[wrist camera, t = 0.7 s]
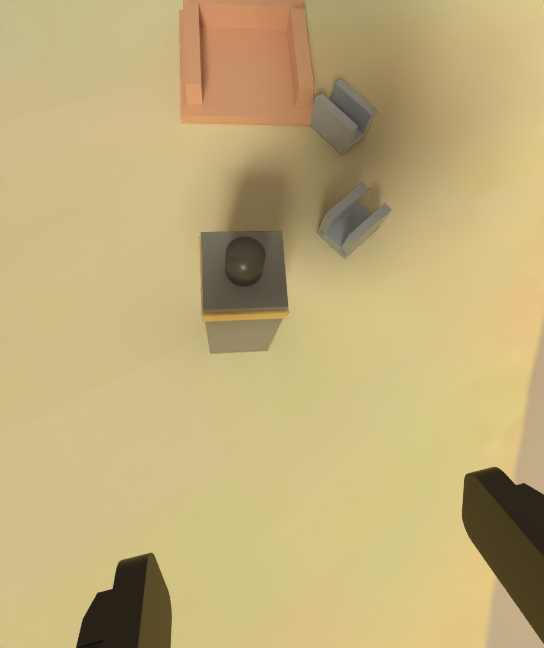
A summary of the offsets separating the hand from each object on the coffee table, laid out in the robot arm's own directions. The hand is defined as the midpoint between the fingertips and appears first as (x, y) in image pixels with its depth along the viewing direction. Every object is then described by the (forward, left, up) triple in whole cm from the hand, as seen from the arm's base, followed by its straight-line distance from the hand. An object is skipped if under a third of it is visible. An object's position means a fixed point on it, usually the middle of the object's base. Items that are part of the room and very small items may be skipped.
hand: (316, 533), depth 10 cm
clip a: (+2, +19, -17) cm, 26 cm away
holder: (-10, +31, -17) cm, 37 cm away
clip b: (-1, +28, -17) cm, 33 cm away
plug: (-4, +9, -17) cm, 20 cm away
